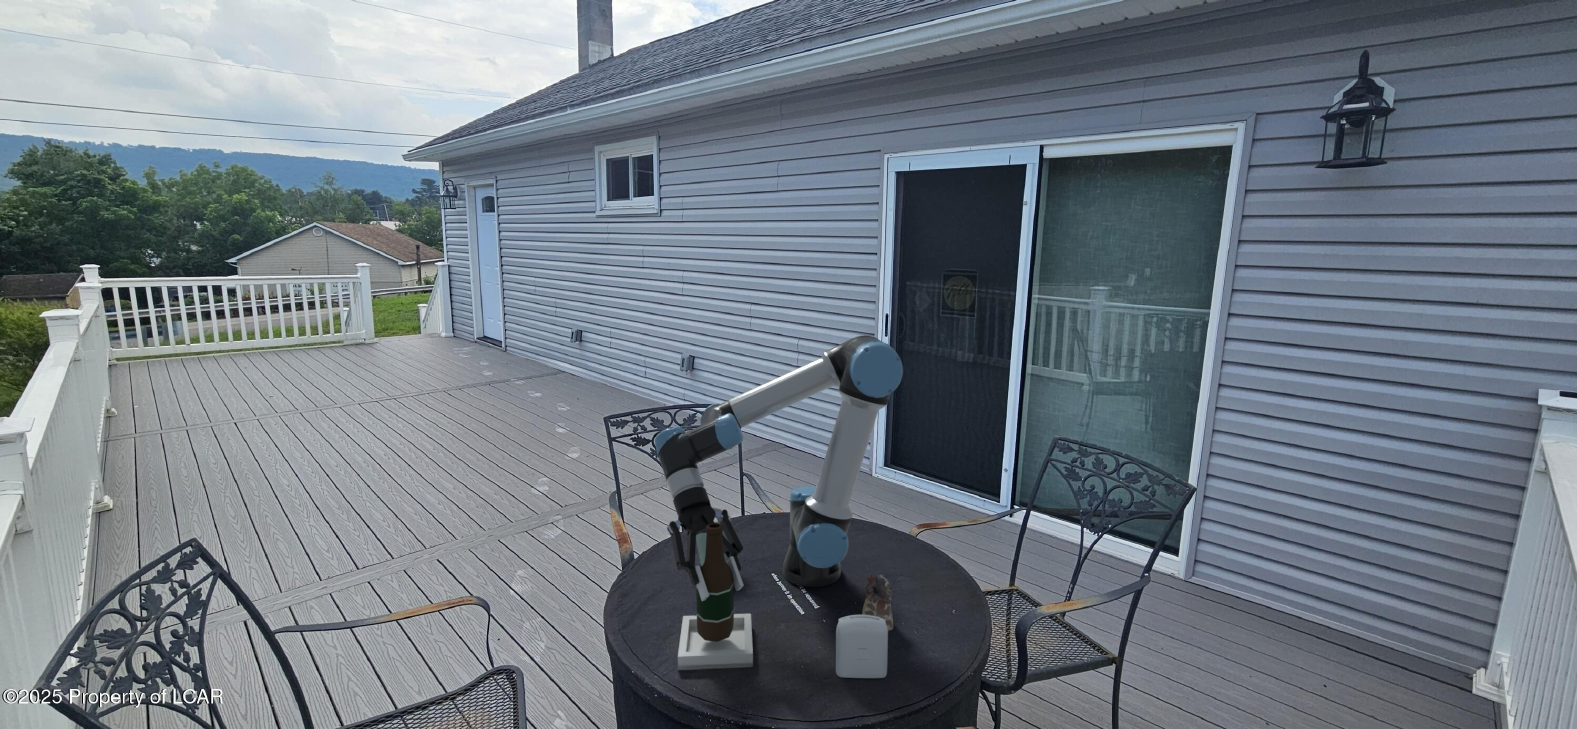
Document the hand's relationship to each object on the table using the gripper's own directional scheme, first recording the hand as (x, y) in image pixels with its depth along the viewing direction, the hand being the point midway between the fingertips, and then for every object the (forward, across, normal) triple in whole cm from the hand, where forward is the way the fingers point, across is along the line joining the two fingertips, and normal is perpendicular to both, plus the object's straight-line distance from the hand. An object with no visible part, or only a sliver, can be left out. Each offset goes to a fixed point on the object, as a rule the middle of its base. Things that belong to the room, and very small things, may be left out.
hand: (722, 593), depth 137 cm
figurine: (+16, -35, -4) cm, 38 cm away
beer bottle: (+5, 0, -10) cm, 11 cm away
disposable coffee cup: (-16, -16, -36) cm, 43 cm away
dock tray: (+7, 0, -12) cm, 14 cm away
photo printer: (+24, -20, +4) cm, 32 cm away
